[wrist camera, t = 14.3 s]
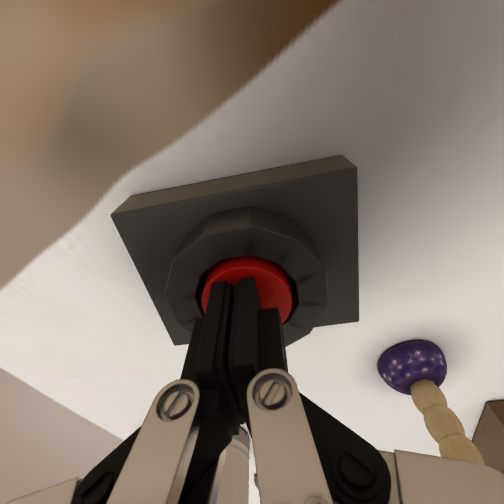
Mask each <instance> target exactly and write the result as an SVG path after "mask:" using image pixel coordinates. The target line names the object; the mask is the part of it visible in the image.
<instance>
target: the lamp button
mask: <svg viewBox="0 0 504 504" xmlns="http://www.w3.org/2000/svg"><path fill="white" fill-rule="evenodd" d="M252 276H254V277H255V280H256V284H257V289H258V293H259V297H260V301H261V305H262V309H267V308H274V307H278V308H279V312H280V317H281V322H282V323H283V322H284V321H285V320H286V318H287V317H288V315H289V313H290V311H291V307H292V297H291V290H290V284H289V278H288V273H287V272H286V271H285V270H284V269H283V268H282V267H281V266H280V265H279V264H278V263H276V262H272V261H269V260H266V259H262V258H259V257H255V256H252V255H246V256H240V257H234V258H228V259H222V260H220V261H219V262H217V263H216V264H215V265H213V266H212V267H211V268H210V269H209V270H208V274H207V278H206V282H205V286H204V290H203V294H202V307H203V310H204V312H206V307H207V303H208V298H209V294H210V289H211V285H212V283H214V282H221V281H227V283H228V284H231V283H232V285H233V287H234V291H235V283H238V282H240V278H246V277H252Z"/></svg>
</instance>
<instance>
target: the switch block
mask: <svg viewBox="0 0 504 504" xmlns="http://www.w3.org/2000/svg"><path fill="white" fill-rule="evenodd" d="M111 218H112V220H113V222H114V224H115V226H116V228H117V230H118V232H119V234H120V236H121V238H122V240H123V242H124V244H125V246H126V248H127V250H128V252H129V254H130V256H131V258H132V260H133V262H134V264H135V266H136V268H137V270H138V272H139V274H140V277H141V279H142V281H143V283H144V285H145V287H146V289H147V291H148V293H149V295H150V297H151V299H152V301H153V303H154V305H155V307H156V309H157V311H158V313H159V315H160V317H161V319H162V321H163V323H164V325H165V327H166V329H167V331H168V333H169V335H170V337H171V340H172V342H173V344H174V345H183V344H189V343H190V339H191V335H192V331H193V327H194V323H195V321H196V319H198V318H204V317H205V312H204V310H203V307H202V294H203V290H204V286H205V282H206V278H207V274H208V270H209V269H210V268H211V267H212V266H213V265H215V264H216V263H217V262H219V261H220V260H222V259H228V258H234V257H240V256H246V255H252V256H255V257H259V258H262V259H266V260H269V261H272V262H276V263H278V264H279V265H280V266H281V267H282V268H283V269H284V270H285V271H286V272H287V273H288V278H289V284H290V290H291V297H292V307H291V311H290V313H289V315H288V317H287V318H286V320H285V321H284V322H283V323H282V328H283V334H284V341H285V347H286V346H288V345H290V344H292V343H293V342H295V341H297V340H299V339H301V338H302V337H304V336H306V335H308V334H309V333H310V332H311V331H312V329H313V328H314V327H320V326H327V325H335V324H343V323H350V322H358V321H359V270H358V182H357V167H356V166H355V165H353V164H352V163H351V162H350V161H349V160H348V159H347V158H345V157H344V156H343V155H338V156H333V157H328V158H323V159H318V160H312V161H307V162H302V163H297V164H292V165H287V166H282V167H277V168H272V169H267V170H262V171H257V172H252V173H247V174H241V175H236V176H231V177H226V178H221V179H216V180H211V181H206V182H201V183H196V184H191V185H186V186H181V187H176V188H170V189H165V190H160V191H155V192H150V193H145V194H140V195H135V196H130V197H129V198H128V199H127V200H126V201H125V202H124V203H123V204H121V205H120V206H119V207H118V208H117V209H116V210H115V211H114V212H113V213H112V214H111Z"/></svg>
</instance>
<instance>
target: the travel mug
mask: <svg viewBox="0 0 504 504" xmlns="http://www.w3.org/2000/svg"><path fill="white" fill-rule="evenodd" d="M248 494H249V438H248V436H247V434H246V433H245V432H244V431H243V430H242V429H240V431H239V435H233V436H232V441H231V443H230V444H229V445H228V446H227V447H226V458H225V463H224V468H223V473H222V478H221V483H220V487H219V492H218V497H217V502H216V504H248Z"/></svg>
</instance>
